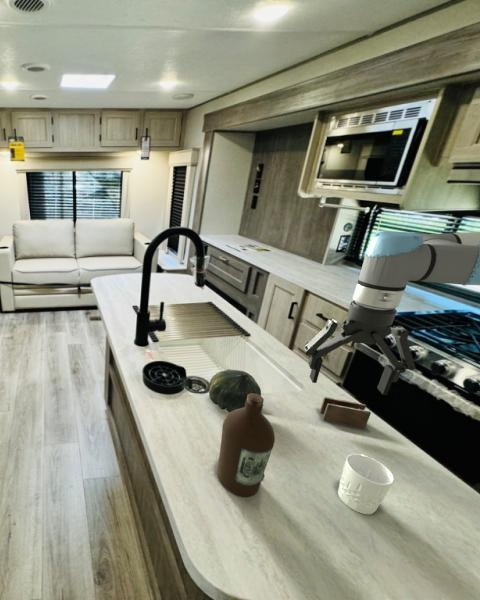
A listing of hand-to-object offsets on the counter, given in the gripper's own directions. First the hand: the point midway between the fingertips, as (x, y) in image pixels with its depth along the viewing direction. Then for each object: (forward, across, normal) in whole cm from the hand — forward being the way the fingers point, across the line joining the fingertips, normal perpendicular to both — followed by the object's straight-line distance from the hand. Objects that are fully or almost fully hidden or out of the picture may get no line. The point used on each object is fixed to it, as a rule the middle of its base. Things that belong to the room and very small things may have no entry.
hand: (346, 385), depth 75 cm
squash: (+23, -22, +13) cm, 34 cm away
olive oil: (+23, -22, -16) cm, 35 cm away
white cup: (+23, +3, -12) cm, 26 cm away
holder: (+23, +8, +16) cm, 29 cm away
